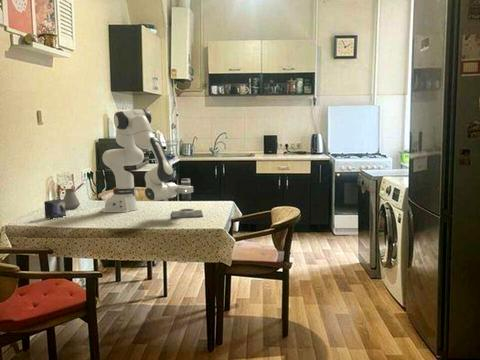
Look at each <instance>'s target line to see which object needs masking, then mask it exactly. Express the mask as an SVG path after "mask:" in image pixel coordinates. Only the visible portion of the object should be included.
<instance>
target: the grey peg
mask: <svg viewBox="0 0 480 360" xmlns="http://www.w3.org/2000/svg"><path fill="white" fill-rule="evenodd" d="M180 180H181V181H180V182H181V184H180V185H185V186H191V178H188V177H187V178H184V177H183V178H180ZM181 199H182V200H184V201H185V200H191V199H192V193H186V194H181Z"/></svg>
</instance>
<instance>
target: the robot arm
mask: <svg viewBox="0 0 480 360" xmlns="http://www.w3.org/2000/svg"><path fill="white" fill-rule="evenodd" d="M151 123H152V114H151V112H150V110H148V109H146V108H141V109H128V110H124V111H123V110H121V111H120V110H119V111H117V112H115V113H114V115H113V124H114V126H115V128H116V132H115V133H116V134H115V142H116V143H117V145H119V146H120V147H122V148H113V149H108V150H105V151H104V153H102V162H103V164H104V165H105V166H106V167H108V168H109V169H110V170H111V172H112V173H113V175H114V179H115V185H116V186H115V187H113V190H112V193H113V194H111V196H110V197H108V198H107V199H106V200H105V203H104V207H103V208H101V210H100V211H101V212H102V213H127V212H132V211H136V210H138V209H139V208H138V207H139V206H138V204H137V200H136V188H135V181H134V180H135V177H134V174H133V173H131V172H130V171H127V170H125V168H124V167H127V166H136V165H140V164H142V163H143V161H144V159H145V155H144V152H143V150H151V152H152V153H153V155H154V158H155V160H156V164H157V166H155V167H154V168H152V169H150V170H148V171H146V172H145V174H144V178H143V179H144V182H145V189H144V195H145V197H146V198H147V199H148V200H150V201H152V202H154V201H155V202H157V201H162V200H165V199H167V200H168V199H172V198H175V197H176V196H177V195H178V194H181V195H182V194H186V193H191V194H192V193H194V186H193V185H190V186H185V185H182V184H176V183H175V182H173V181H171V180H173V178H174V175H175V174H174V173H175V171H174V167H173V166H172V165H171V163H170V162H169V159H168V157H167V154H166V153H165V150H164V148H163V145H162V144H161V142H160V140H159V139H158V138H157V137H155V135H154V133H153V129H152V127H151V126H152V125H151ZM169 181H170V182H169Z"/></svg>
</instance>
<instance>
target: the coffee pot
mask: <svg viewBox="0 0 480 360" xmlns="http://www.w3.org/2000/svg"><path fill="white" fill-rule="evenodd" d="M84 185H86V183H84V182H82V183H81V184H80V185H78V186H77V187H76V189H75V188H65V189H64V191H65V195H64V197H63V199H62V200H65V208H66V210H75V208H76V209H78V207H80V205H81V203H80V202H81V201H79V199H78V197H77V195H76V191H77V190H79V189H80V188H81V187H82V186H84Z"/></svg>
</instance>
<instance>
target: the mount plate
mask: <svg viewBox="0 0 480 360" xmlns="http://www.w3.org/2000/svg"><path fill="white" fill-rule="evenodd" d="M203 217H204V215H203V211H202V209H197V210H195V209H194V208H181V209H179V210H175V211H174V210H173V211H171V220H172V219H173V218H174V219H191V218H203Z"/></svg>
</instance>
